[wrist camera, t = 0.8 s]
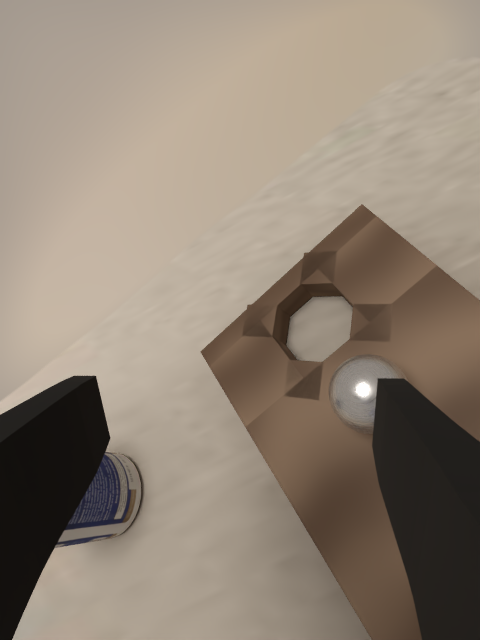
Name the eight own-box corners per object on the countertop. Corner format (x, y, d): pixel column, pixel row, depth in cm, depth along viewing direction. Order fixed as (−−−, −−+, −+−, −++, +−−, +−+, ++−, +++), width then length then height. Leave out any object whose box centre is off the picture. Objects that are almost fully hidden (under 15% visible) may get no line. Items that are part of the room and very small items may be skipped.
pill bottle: (118, 436, 30) (-16, 421, 22) (157, 493, 27) (17, 500, 19) (75, 494, 30) (-73, 500, 22) (108, 557, 27) (-50, 590, 19)
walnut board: (717, 513, 15) (745, 518, 13) (424, 694, 17) (417, 716, 16) (367, 219, 25) (359, 202, 24) (215, 356, 28) (199, 349, 26)
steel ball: (433, 405, 19) (423, 392, 16) (372, 452, 19) (352, 448, 16) (381, 349, 21) (364, 329, 18) (327, 394, 21) (302, 381, 18)
